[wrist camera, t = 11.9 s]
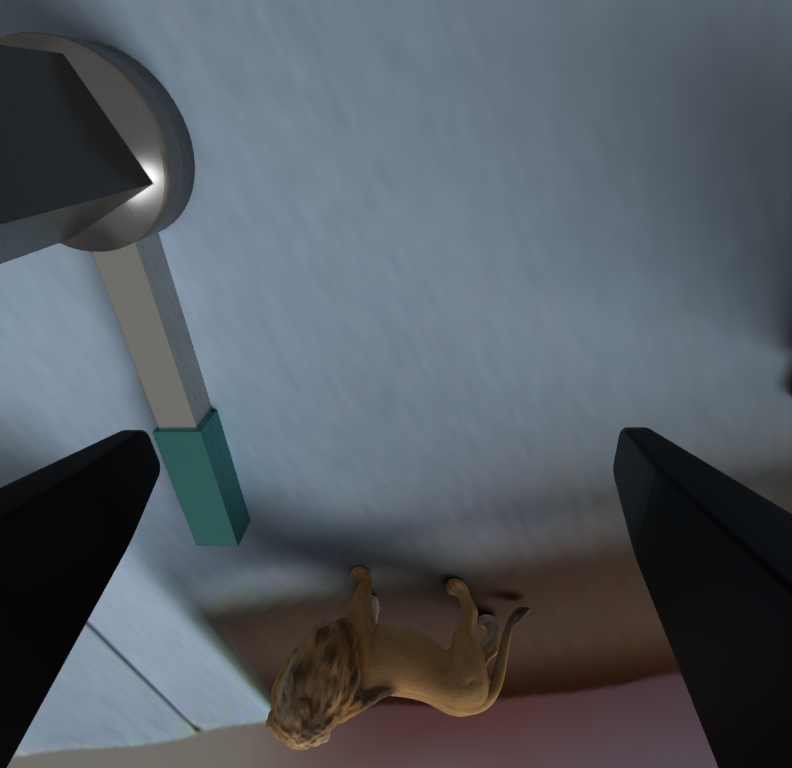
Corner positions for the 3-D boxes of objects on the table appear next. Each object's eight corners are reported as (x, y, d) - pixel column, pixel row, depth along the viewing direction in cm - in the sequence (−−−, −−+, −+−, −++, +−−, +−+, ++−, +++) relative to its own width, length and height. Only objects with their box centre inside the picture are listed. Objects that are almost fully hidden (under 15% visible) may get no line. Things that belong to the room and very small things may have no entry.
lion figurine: (308, 612, 33) (266, 766, 26) (297, 560, 31) (247, 713, 23) (525, 625, 32) (550, 792, 24) (533, 571, 29) (564, 739, 21)
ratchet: (163, 31, 17) (69, 7, 13) (286, 521, 29) (258, 593, 25) (-13, 50, 18) (-158, 32, 14) (176, 519, 30) (130, 589, 26)
